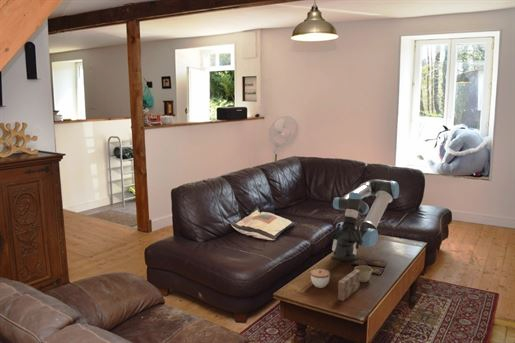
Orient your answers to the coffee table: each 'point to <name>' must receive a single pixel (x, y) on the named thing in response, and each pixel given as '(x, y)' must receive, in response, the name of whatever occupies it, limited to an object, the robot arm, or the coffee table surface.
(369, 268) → the flower pot
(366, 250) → the coffee table surface
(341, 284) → the grey brown rectangular panel
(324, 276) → the lidded jar
